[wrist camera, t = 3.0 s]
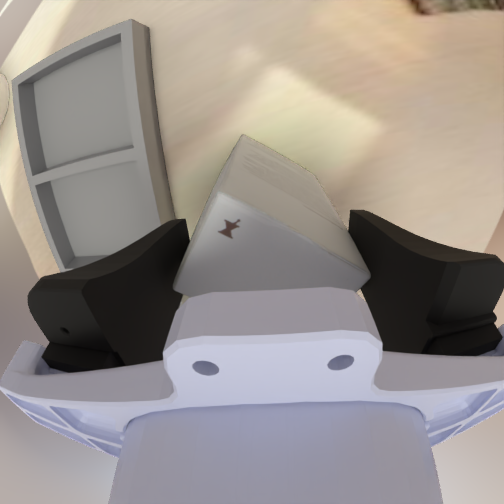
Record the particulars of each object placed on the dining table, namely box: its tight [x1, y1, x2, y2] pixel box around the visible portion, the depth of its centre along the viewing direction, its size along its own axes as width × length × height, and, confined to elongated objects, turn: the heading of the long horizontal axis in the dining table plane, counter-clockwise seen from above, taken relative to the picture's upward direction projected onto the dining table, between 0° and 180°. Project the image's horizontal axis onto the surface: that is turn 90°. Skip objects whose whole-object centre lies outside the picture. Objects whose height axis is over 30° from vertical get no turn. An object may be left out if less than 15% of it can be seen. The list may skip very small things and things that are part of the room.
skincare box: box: [173, 135, 371, 297], centre depth 14 cm, size 6×4×12 cm
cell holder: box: [12, 19, 191, 308], centre depth 19 cm, size 27×12×3 cm, turn 4°
